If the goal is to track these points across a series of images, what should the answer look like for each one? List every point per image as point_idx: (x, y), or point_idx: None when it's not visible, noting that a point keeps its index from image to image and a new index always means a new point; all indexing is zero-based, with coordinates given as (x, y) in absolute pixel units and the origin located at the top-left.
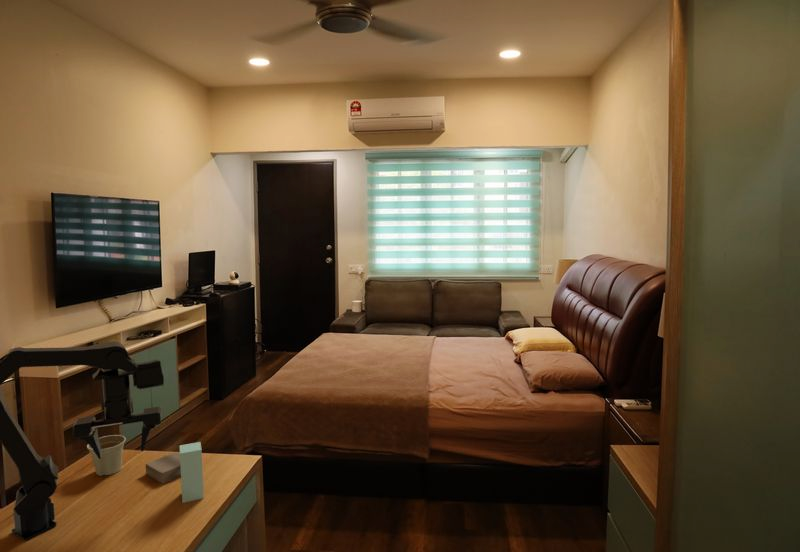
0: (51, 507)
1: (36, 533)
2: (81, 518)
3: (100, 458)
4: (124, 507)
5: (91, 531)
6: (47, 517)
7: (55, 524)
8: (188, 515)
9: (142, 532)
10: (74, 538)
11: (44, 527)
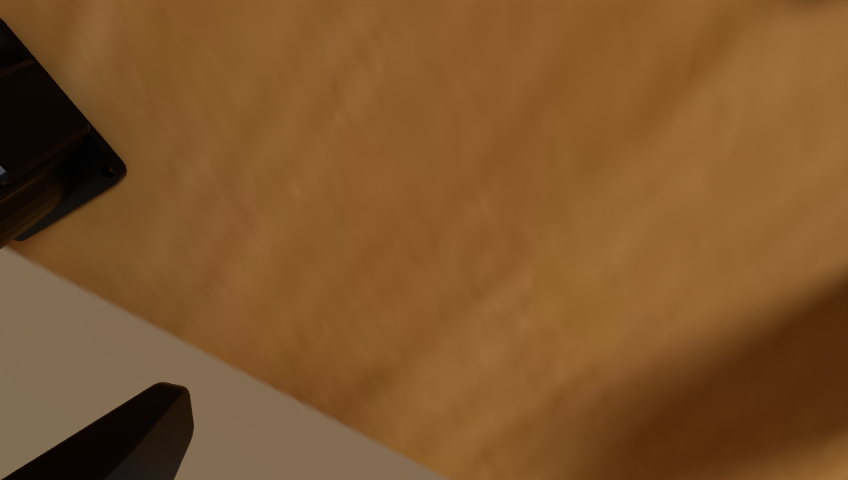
0: (16, 185)
1: (51, 222)
2: (255, 160)
3: (187, 442)
4: (517, 176)
5: (336, 327)
6: (42, 193)
7: (119, 179)
8: (840, 467)
9: (575, 465)
10: (264, 339)
11: (69, 196)
